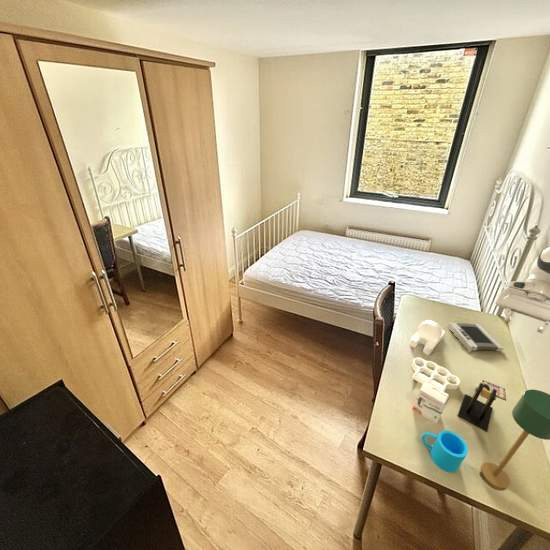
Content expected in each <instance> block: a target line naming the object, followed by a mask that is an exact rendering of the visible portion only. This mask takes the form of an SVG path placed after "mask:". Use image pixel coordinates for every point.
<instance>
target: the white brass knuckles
mask: <svg viewBox="0 0 550 550" xmlns="http://www.w3.org/2000/svg"><path fill="white" fill-rule="evenodd" d="M428 367H430V368H432V369H430V368H428ZM411 369H412V370H413V372H414V373H413V374H412V376H411V379H412V380H413V381H416V382H417V383H418V384H421V385H423V383H424V382H426V383H429V384H430V385H432V386H434V387H436V388H438V389H439V390H441V391H443V392H445V391H446V390H447V389H450V390H457V389H458V388H459V386H460V385H461V379H460V378H459V377H458V376H457V375H454V374H453V373H451V372H450V371H449V369H447V368H446V367H444V366H441V365H439V364H438V363H436V362H434V361H432V360H427V359H423V358H422V357H414V358H413V360H412V363H411ZM440 373H441V374H443V375H441V374H440ZM425 374H426V375H425ZM429 376H430V377H429ZM434 379H436V380H434ZM438 381H439V382H438ZM449 381H452V382H453V383H451V382H449ZM440 382H441V383H440Z"/></svg>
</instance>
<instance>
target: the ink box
mask: <svg viewBox="0 0 550 550" xmlns="http://www.w3.org/2000/svg"><path fill="white" fill-rule="evenodd" d="M450 396H451V395H449V393H447V392H445V391H444V392H443V391H441V390H439V389H438V388H436V387H434V386H432V385H430V384H429V383H426V382H424V383H423V384H421V386H420V388H419V391H418V394H417V396H416V398H415V401H414V403H413V406H412V410H413V411H415V412H417V413H418V414H420V415H421V416H423V417H424V418H426V419H428V420H429V421H431V422H433V423H434V424H437V423H438V422H439V420H440V418H441V416H442V414H443V413H444V410H445V408H446V406H447V404H448V402H449V399H450Z"/></svg>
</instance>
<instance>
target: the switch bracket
mask: <svg viewBox="0 0 550 550" xmlns="http://www.w3.org/2000/svg"><path fill="white" fill-rule="evenodd" d="M482 387H483V384H482V382H479V384H478V386H477V387H475V389H474V393H473V394H472V396H470V395H469V394H466V393H465V394H464V396H463V399H462V402H461V405H460V406H459V407H460V408H459V410H458V413H457V417H458V418H461V419H462V420H464V421H465V422H467V423H469V424H470V425H473V426H475V427H477V428H478V429H480V430H482V431H484V432H485V433H487V432H488V429H489V425H490V423H491V417H492V413H493V410H494V408H493V407H492V405H493V403H494V401H496V400H497V398H498V397H496V392H497V390H495V389H493V391H492V392H491V394H490V396H489V398H488V399H486V401H485V403H484V402H483V401H480V400H479V397H480V396H481V395H480V394H481V391H482Z"/></svg>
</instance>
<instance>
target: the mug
mask: <svg viewBox="0 0 550 550" xmlns="http://www.w3.org/2000/svg"><path fill="white" fill-rule="evenodd" d="M426 437H431V438H435V439H434V442H433V445H431V444H430V443H428V442H427V440H426V439H425V438H426ZM420 438H421V442H422V443H423V445H424V446H425V447H426V448H427V449H428V450H430V452H429V453H430V454H429V455H430V458H431V460H432V462H433V463H434V465H436V466H437V467H438V468H439V469H441V470H442V471H444V472H447V473H455V472H457V471H458V470H459V469H460V467H461V465H462V463H463V462H464V460H465V459H466V457H467V455H468V452H469V447H468V444H467V443H466V441H465V439H463V438H462V437H461V435H459V434H457V433H456V432H453V431H452V430H451V431H450V430H441V431H439V433H438V434H437V433H433V432H428V431H427V432H423V433H422V434H421V436H420Z"/></svg>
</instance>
